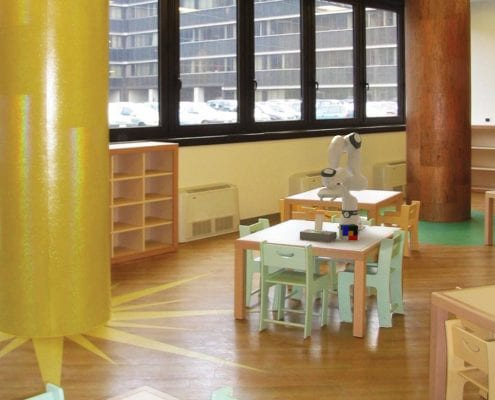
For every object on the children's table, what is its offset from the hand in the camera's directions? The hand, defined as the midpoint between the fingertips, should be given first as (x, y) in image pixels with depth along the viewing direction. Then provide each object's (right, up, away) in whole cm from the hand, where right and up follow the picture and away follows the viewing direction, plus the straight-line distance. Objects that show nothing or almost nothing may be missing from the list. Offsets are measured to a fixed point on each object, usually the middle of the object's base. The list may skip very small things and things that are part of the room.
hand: (326, 201), depth 579 cm
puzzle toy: (+14, -26, -11) cm, 32 cm away
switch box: (-6, -26, -11) cm, 29 cm away
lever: (-6, -21, -11) cm, 25 cm away
